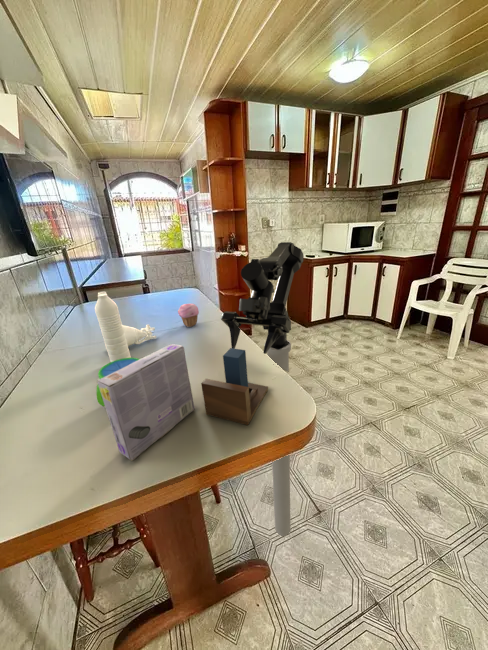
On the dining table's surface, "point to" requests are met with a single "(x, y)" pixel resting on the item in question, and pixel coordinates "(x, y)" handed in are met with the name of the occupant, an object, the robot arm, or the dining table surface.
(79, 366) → the dining table surface
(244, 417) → the pad seat
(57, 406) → the dining table surface
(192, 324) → the cupcake
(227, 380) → the back pad
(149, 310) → the dining table surface
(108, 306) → the water bottle
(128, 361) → the snack cup
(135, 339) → the rocket engine
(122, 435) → the cake pan box
